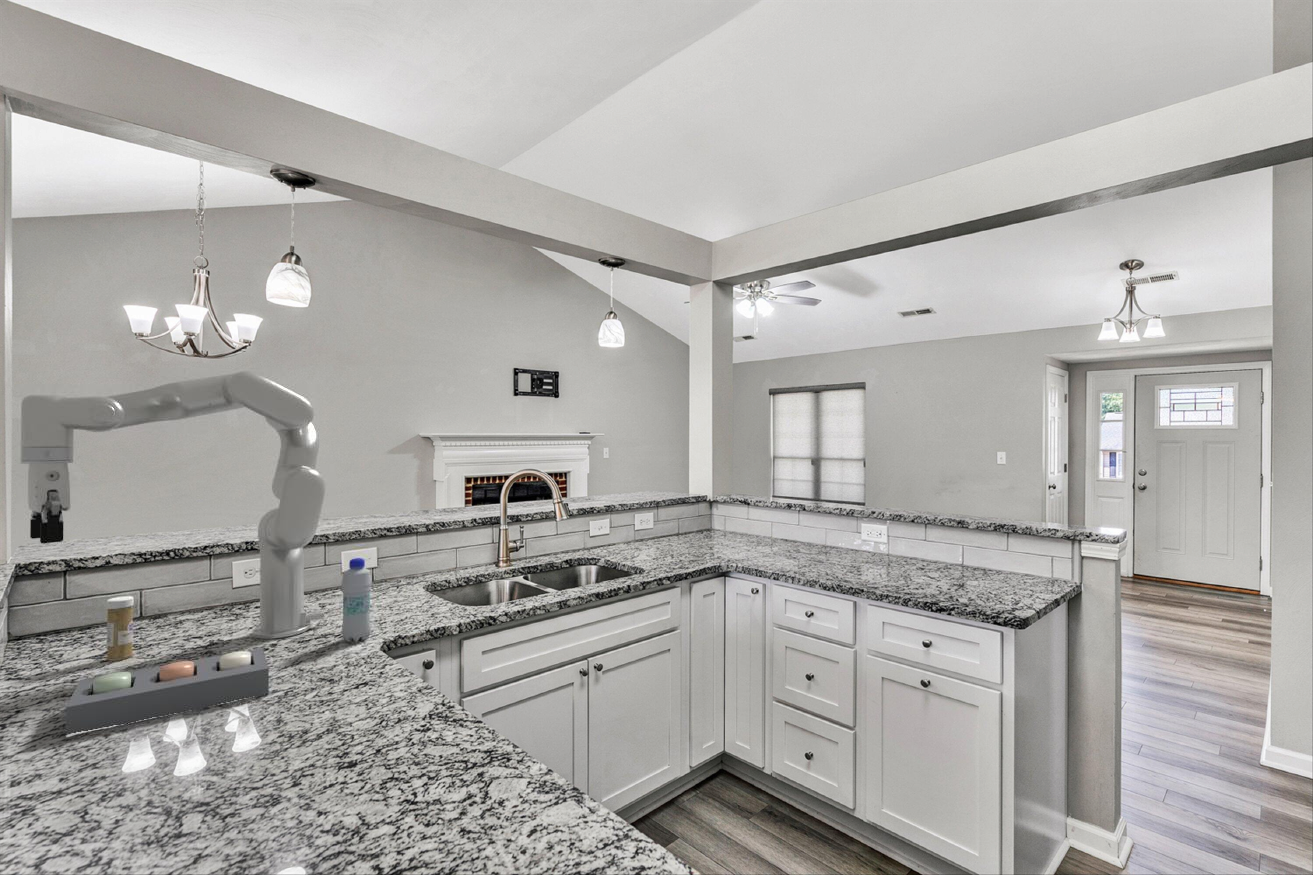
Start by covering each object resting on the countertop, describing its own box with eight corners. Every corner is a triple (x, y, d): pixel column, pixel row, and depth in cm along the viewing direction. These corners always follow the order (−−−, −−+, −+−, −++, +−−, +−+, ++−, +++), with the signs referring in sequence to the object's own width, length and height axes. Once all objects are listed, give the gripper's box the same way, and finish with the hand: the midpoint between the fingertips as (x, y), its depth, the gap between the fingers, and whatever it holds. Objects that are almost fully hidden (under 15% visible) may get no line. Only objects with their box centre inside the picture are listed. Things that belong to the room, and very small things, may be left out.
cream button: (249, 666, 121) (250, 649, 121) (251, 674, 117) (251, 656, 117) (219, 672, 118) (219, 654, 118) (219, 680, 114) (220, 662, 114)
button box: (262, 671, 126) (263, 648, 126) (268, 694, 115) (268, 668, 115) (79, 707, 109) (80, 679, 109) (65, 737, 98) (65, 707, 98)
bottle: (377, 636, 149) (378, 556, 149) (356, 645, 143) (356, 561, 143) (356, 633, 151) (357, 554, 151) (334, 641, 145) (335, 559, 145)
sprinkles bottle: (131, 658, 133) (131, 598, 133) (103, 663, 131) (104, 601, 131) (135, 652, 137) (135, 594, 137) (108, 656, 135) (108, 597, 135)
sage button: (132, 688, 110) (132, 669, 110) (129, 698, 106) (129, 678, 106) (95, 695, 107) (95, 676, 107) (90, 705, 103) (91, 685, 103)
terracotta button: (193, 677, 115) (193, 659, 115) (193, 685, 111) (193, 666, 111) (160, 683, 112) (160, 664, 112) (158, 692, 108) (158, 673, 108)
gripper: (83, 456, 119) (82, 541, 119) (63, 455, 130) (62, 533, 129) (29, 457, 113) (28, 547, 113) (13, 455, 123) (11, 538, 123)
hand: (46, 539), depth 121 cm, fingers open, 9 cm apart
